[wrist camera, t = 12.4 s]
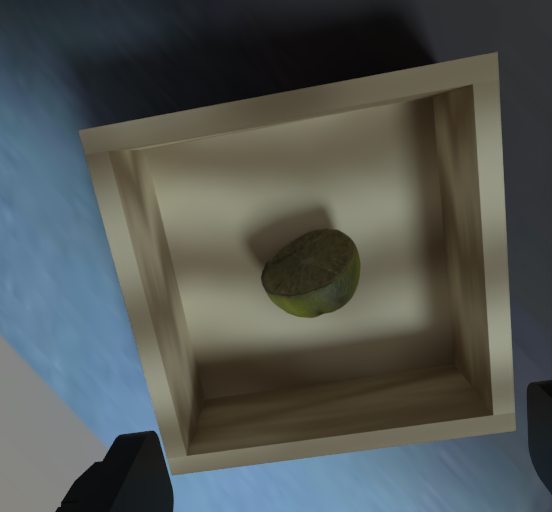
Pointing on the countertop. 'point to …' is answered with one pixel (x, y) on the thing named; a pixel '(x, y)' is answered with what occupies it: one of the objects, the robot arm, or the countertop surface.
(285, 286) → the lime
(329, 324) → the crate
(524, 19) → the countertop surface
